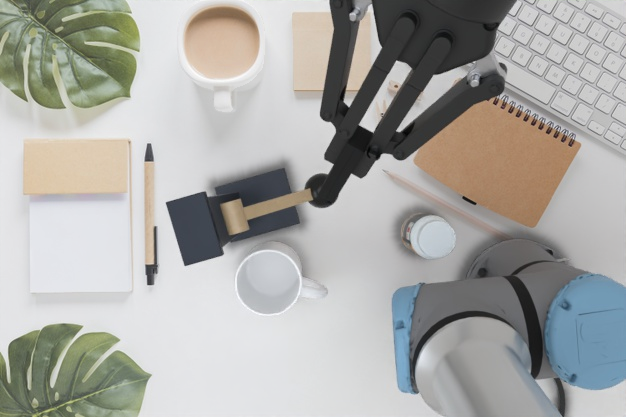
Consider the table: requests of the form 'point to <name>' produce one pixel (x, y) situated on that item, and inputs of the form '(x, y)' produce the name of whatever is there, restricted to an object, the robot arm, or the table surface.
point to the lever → (273, 205)
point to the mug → (273, 280)
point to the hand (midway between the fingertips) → (330, 189)
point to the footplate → (261, 191)
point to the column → (200, 226)
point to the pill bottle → (428, 235)
